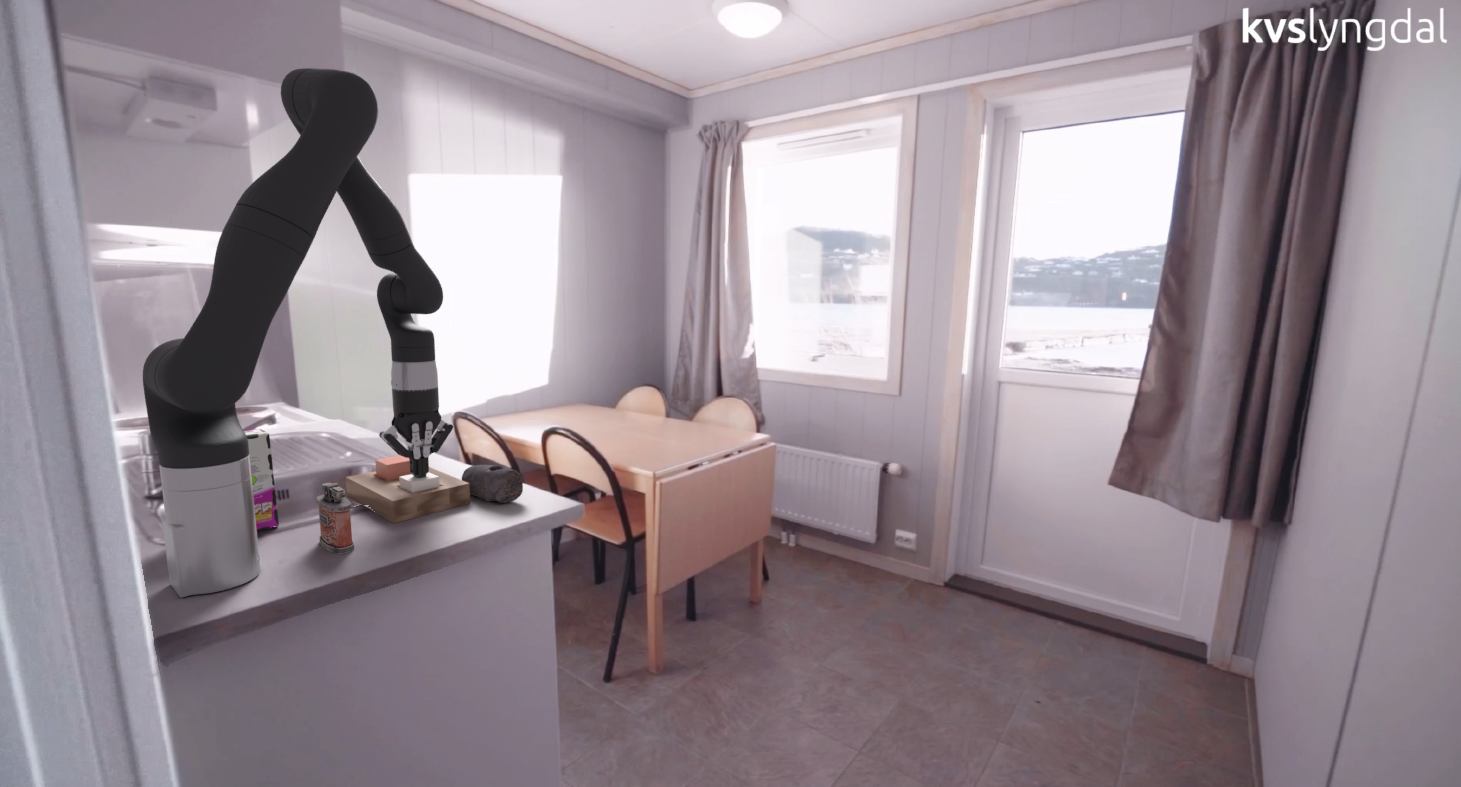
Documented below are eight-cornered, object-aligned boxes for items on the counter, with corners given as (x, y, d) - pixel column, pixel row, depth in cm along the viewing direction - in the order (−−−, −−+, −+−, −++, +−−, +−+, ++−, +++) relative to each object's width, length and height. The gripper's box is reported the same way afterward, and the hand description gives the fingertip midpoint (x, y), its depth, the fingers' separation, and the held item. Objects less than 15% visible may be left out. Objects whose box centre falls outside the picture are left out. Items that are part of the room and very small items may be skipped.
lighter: (314, 541, 98) (309, 481, 97) (338, 535, 101) (333, 477, 99) (335, 555, 93) (330, 493, 92) (359, 549, 96) (355, 487, 95)
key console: (394, 523, 107) (392, 501, 106) (347, 496, 119) (345, 476, 118) (470, 503, 118) (469, 483, 117) (419, 481, 130) (419, 462, 129)
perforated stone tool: (453, 494, 122) (451, 461, 121) (475, 488, 127) (474, 455, 126) (503, 510, 115) (503, 474, 114) (526, 502, 119) (525, 468, 118)
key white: (413, 503, 112) (411, 482, 111) (400, 497, 115) (399, 476, 114) (440, 497, 115) (439, 476, 115) (427, 491, 118) (426, 471, 118)
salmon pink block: (387, 485, 117) (386, 465, 117) (376, 479, 120) (375, 459, 120) (414, 479, 121) (413, 460, 121) (402, 474, 124) (401, 455, 124)
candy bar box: (269, 520, 106) (261, 427, 104) (279, 527, 103) (271, 432, 101) (185, 539, 97) (173, 438, 95) (194, 547, 95) (182, 444, 92)
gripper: (386, 391, 104) (392, 489, 107) (460, 384, 114) (464, 473, 117) (367, 386, 109) (373, 480, 112) (440, 379, 119) (444, 465, 122)
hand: (420, 476), depth 114 cm, fingers closed
